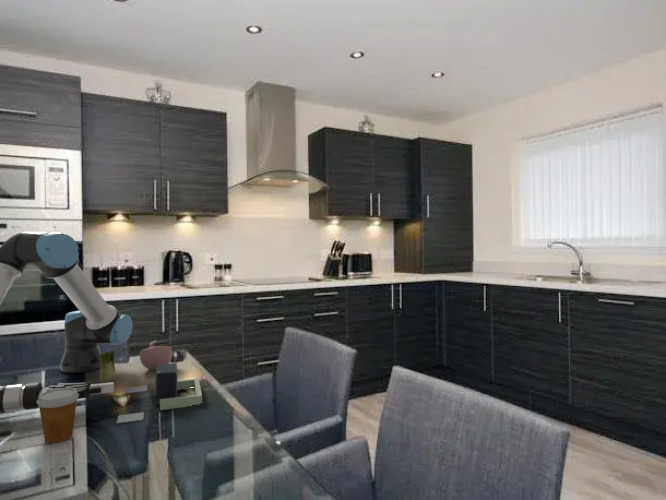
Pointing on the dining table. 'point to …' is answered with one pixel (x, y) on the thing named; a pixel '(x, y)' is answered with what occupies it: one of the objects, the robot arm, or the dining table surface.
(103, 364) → the fennel bulb
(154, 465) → the dining table surface
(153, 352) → the mortar and pestle
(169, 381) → the small box
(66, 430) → the disposable coffee cup
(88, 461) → the dining table surface
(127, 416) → the track
